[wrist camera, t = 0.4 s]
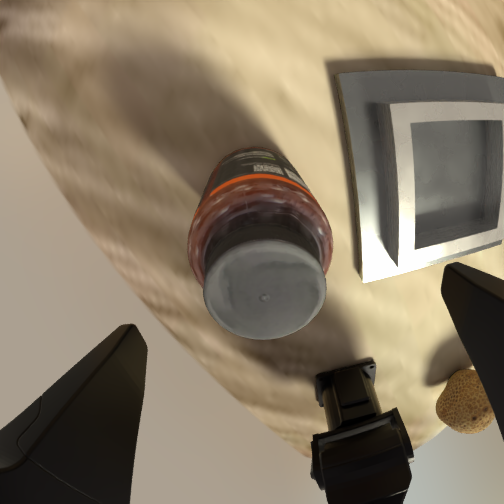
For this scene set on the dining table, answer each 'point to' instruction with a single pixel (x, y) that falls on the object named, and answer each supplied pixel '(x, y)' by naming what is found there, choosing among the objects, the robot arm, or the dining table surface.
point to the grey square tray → (423, 165)
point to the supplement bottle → (260, 246)
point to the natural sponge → (465, 403)
